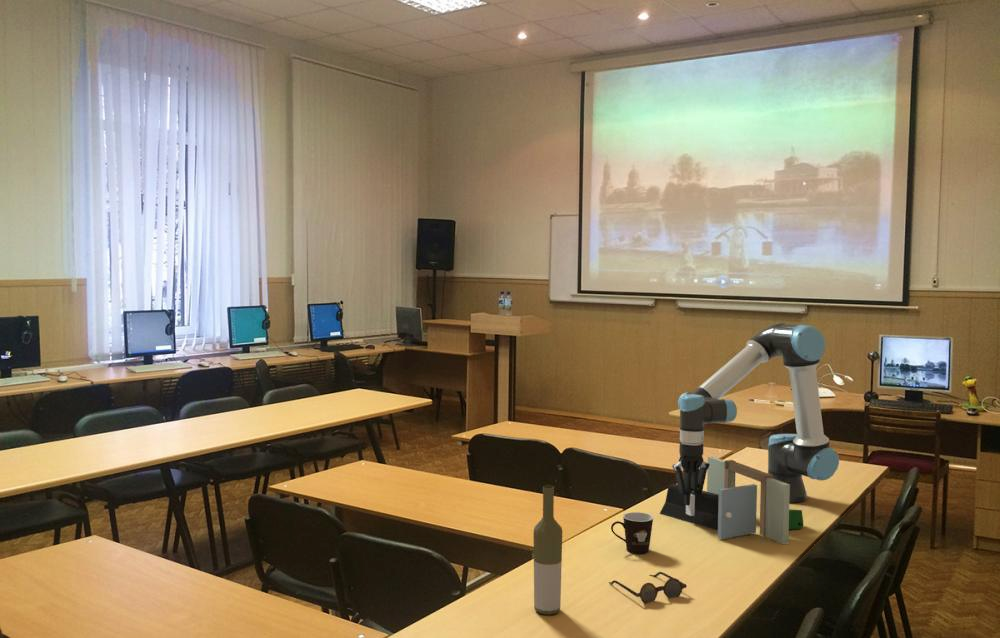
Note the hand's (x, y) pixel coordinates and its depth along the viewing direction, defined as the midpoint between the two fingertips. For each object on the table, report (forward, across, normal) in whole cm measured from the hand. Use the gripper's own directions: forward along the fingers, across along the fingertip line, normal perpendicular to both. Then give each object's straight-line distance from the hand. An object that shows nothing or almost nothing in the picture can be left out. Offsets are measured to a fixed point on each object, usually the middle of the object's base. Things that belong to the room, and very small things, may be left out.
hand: (690, 514), depth 246 cm
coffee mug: (+3, +30, +15) cm, 34 cm away
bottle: (+3, +70, +44) cm, 83 cm away
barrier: (+3, -4, -3) cm, 6 cm away
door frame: (+3, -16, +8) cm, 18 cm away
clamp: (+3, -26, +13) cm, 29 cm away
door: (+2, -6, +17) cm, 18 cm away
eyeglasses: (+4, +41, +41) cm, 58 cm away
